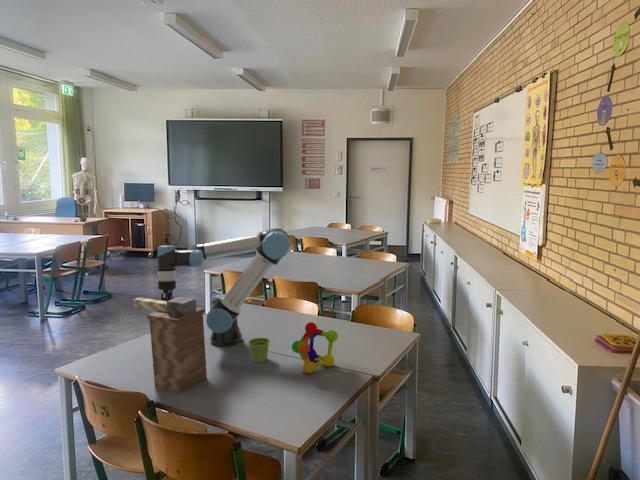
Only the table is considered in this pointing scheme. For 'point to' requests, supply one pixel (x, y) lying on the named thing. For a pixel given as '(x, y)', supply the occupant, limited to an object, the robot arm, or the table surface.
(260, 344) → the plant pot
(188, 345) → the stand
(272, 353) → the table surface
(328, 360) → the molecular model
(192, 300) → the mallet
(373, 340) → the table surface
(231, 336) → the robot arm
